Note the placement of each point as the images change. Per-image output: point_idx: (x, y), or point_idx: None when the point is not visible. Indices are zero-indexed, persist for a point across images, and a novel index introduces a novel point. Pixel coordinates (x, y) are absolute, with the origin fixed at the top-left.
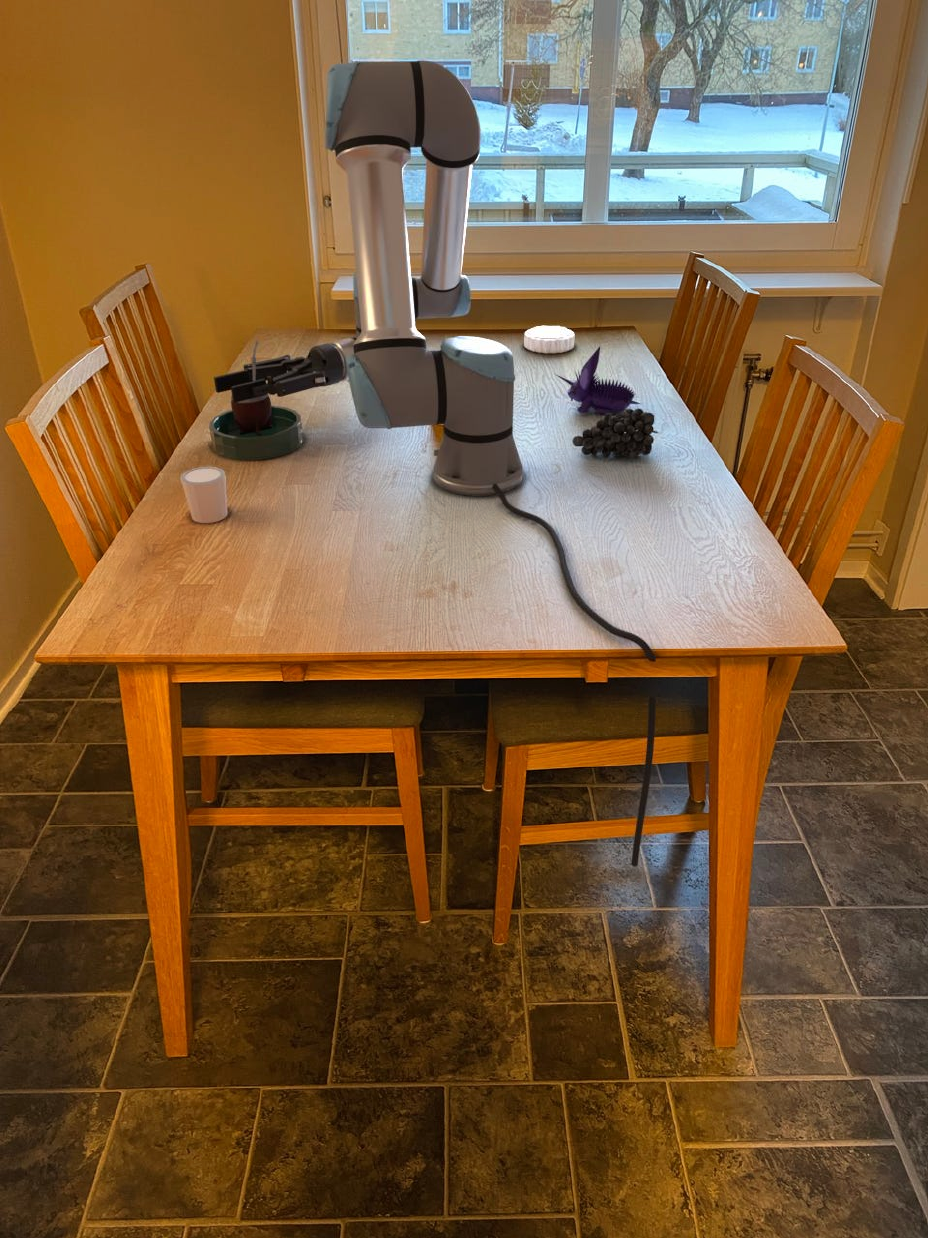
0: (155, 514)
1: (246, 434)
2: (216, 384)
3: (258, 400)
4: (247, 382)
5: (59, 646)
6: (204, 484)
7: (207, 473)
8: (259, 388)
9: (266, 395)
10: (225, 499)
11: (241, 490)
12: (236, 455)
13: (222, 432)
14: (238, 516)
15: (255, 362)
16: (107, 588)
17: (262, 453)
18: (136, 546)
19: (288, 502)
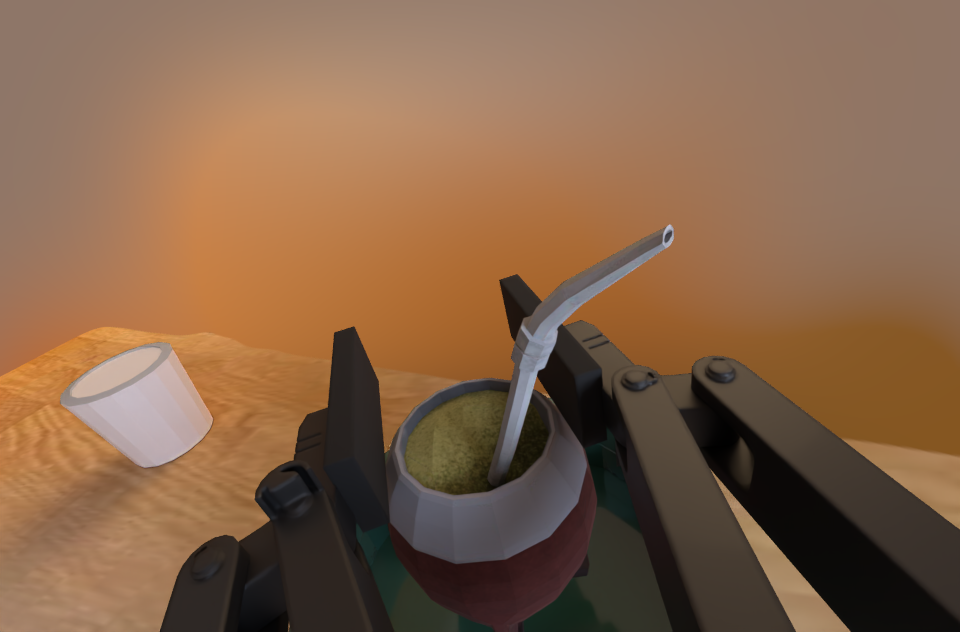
0: (266, 367)
1: (599, 557)
2: (505, 304)
3: None
4: (574, 423)
5: (96, 329)
6: (81, 375)
7: (116, 377)
8: (299, 447)
9: (413, 540)
10: (109, 442)
11: (210, 504)
12: None
13: (609, 466)
14: (110, 487)
15: (515, 364)
16: (140, 344)
17: None
18: (197, 357)
19: (13, 626)
